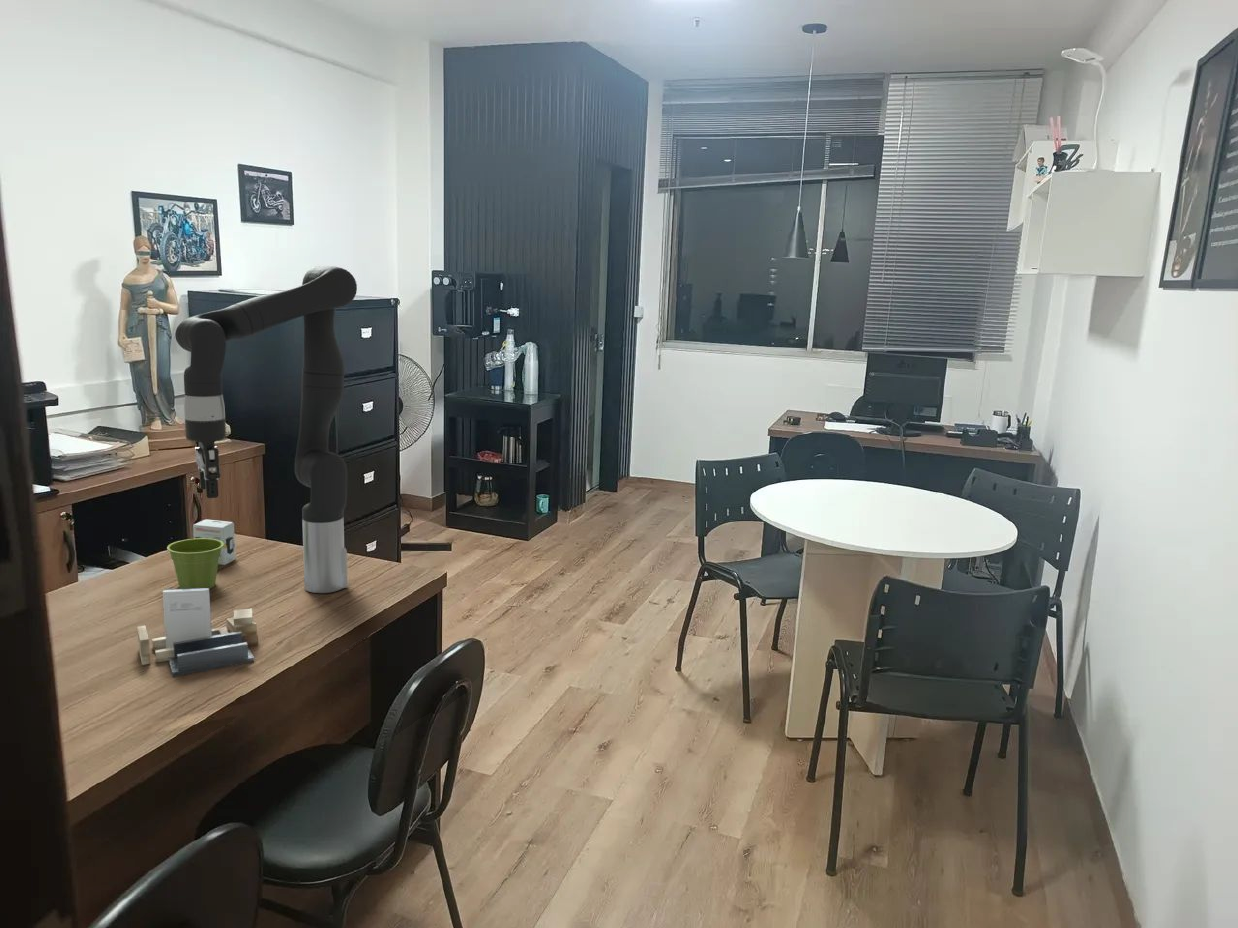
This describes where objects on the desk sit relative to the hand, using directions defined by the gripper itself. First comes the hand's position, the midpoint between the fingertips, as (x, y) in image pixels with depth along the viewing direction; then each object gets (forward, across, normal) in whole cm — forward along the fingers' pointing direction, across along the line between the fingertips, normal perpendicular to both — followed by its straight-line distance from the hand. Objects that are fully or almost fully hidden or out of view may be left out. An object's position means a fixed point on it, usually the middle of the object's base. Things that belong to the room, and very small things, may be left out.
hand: (209, 493), depth 179 cm
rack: (+28, -14, +7) cm, 32 cm away
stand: (+28, -22, +4) cm, 36 cm away
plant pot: (+28, +20, +1) cm, 35 cm away
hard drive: (+28, -14, +7) cm, 32 cm away
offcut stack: (+28, -14, -3) cm, 32 cm away
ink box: (+28, +36, -5) cm, 46 cm away
